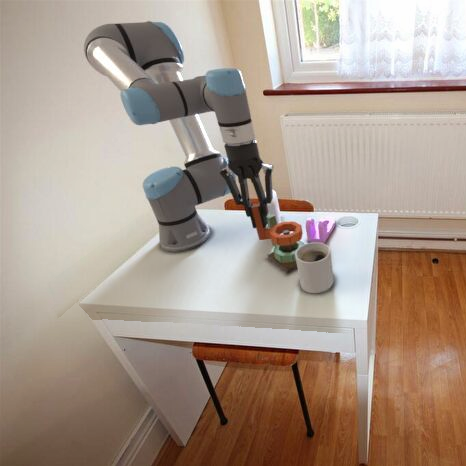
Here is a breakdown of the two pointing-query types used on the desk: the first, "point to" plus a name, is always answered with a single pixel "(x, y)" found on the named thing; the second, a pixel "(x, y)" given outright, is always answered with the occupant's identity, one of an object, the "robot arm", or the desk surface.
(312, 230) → the bracket
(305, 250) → the mug
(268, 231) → the rust ring
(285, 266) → the peg stand
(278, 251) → the sage ring
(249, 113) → the robot arm
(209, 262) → the desk surface
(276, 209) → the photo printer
